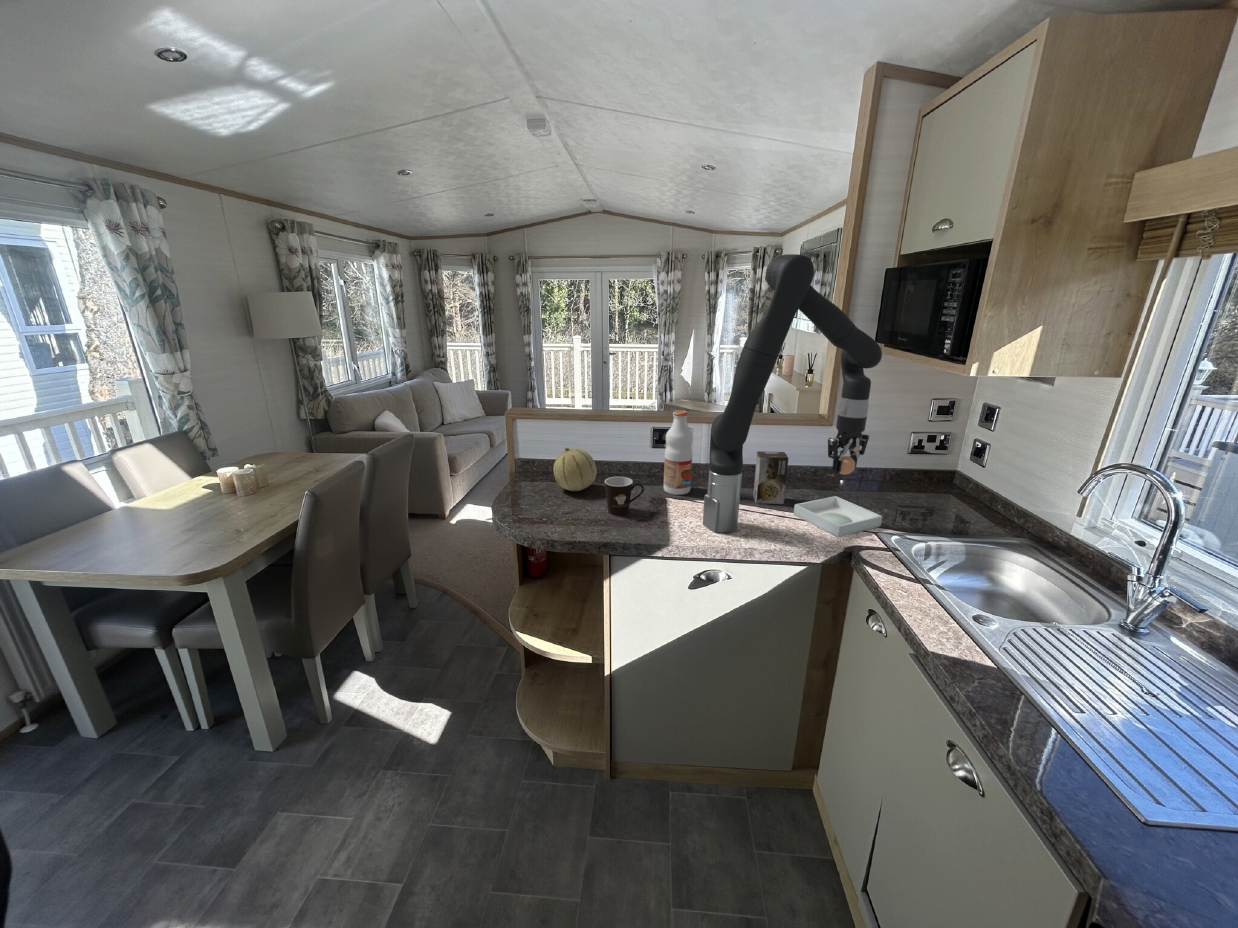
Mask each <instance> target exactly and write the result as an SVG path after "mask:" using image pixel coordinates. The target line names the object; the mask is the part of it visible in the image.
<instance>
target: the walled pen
mask: <svg viewBox="0 0 1238 928" xmlns="http://www.w3.org/2000/svg"><path fill="white" fill-rule="evenodd" d="M793 515H794V516H795V517H797V518H799V519H801V520H803V521H805V522H807V523H808V524H811V525H812V526H815V527H816V528H819V529H821V530H822V531H824V532H827V533H828V534H830V535H832V536H834V537H836V538H842V537H845V536H850V535H853V534H857V533H861V532H864V531H869V529H870V530H873V529H877V528H881V525H882V521H883V516H882V515H881V514H878V513H876V512H874V511H872V510H869V509H867V508H865V507H862V506H860V505H857V504H855V503H853V502H850V501H848V500H846V499H843V498H841V497H839V496H836V495H835V496H834V495H833V496H829V497H825V498H824V497H823V498H820V499H815V500H810V501H805V502H801V503H795V504H794V508H793Z"/></svg>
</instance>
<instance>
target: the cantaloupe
mask: <svg viewBox="0 0 1238 928" xmlns="http://www.w3.org/2000/svg"><path fill="white" fill-rule="evenodd" d="M552 468H553V475H554V479H555V481H556V483H557V484H558V485H559V487H561V488H562V489H564V490H566V491H570V492H580V491H582V490H585V489H587V488H588V487H590V486H592V484H593V482H594V481H595V479H596V477H597V470H598V469H597V465H596V462H595V460H594V458H593V457H592V455H591V454H590V453H589V452H587V451H585V450H583V449H581V448H572V449H571V448H568V447H566V448H564V451H563V452H562V453H560V454H559V455H558V456H557V457H556V459H555V461H554V463H553V467H552Z"/></svg>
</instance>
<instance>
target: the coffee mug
mask: <svg viewBox="0 0 1238 928" xmlns="http://www.w3.org/2000/svg"><path fill="white" fill-rule="evenodd" d="M604 486H605V487H604V488H605V497H606V504H607V513H609V514H610V515H612V516H625V515H627V514H628V513H629V510H630V504H631V503H632V502H633V501H635V500H636V499H638V498H639V497H641V495H643V493H644V491H645V489H644V485H643V484H641V483H635V484H633V479H632V478H630V477H626V476H612V477H608V478H606V479H605V480H604ZM637 486H638V487H641V491H640V493H639V494H638V495H635V496H634V497H632V499H631V496H632V491H633V489H634V488H635V487H637Z"/></svg>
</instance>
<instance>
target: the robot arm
mask: <svg viewBox="0 0 1238 928" xmlns="http://www.w3.org/2000/svg"><path fill="white" fill-rule="evenodd" d="M814 277H815V266H814V262H813V261H812V259H811V258H810V257H808V256H807V255H805V254H799V253H798V254H795V253H793V254H781V255H778V256H776V257H774V258H772V260H770V262H769V263H768V265H767V266H766V268H765V280H766V284H767V285H768V287H769V288H770V289H771V290H772V291H773V294H772V297H771V300H770V303H769V305H768V307H767V309H766V312H765V313H764V315H763V316H762V317H761V318H760V319H759V321H758V323H757V324H756V325H755V326H754V328H753V329H752V331H751V332H750V333H749V335H748V336H747V338H746V340H745V342H744V344H743V347H742V349H741V352H740V354H739V357H738V360H737V363H736V367H735V371H734V375H733V380H732V381H733V382H732V387H731V392H730V396H729V399H728V401H727V404H726V406H725V408H724V410H723V412H722V413H721V414H719V415H717V416H716V417H715V418H714V420H713V421H712V424H711V427H710V440H709V456H708V457H709V468H708V483H707V493H706V494H704V498H703V499H704V501H703V511H702V512H703V516H702V525H703V526H705V527H706V528H707V529H709V530H710V531H712V532H713V533H718V532H719V533H731V532H735V531H737V529H738V524H739V513H740V503H741V501H740V500H741V490H742V481H743V480H742V479H743V470H744V469H743V468H744V465H743V464H744V460H743V458H744V457H743V451H744V450H743V448H744V444H745V443H746V442H747V438H748V436H749V431H750V428H751V424H752V420H753V418H754V414H755V411H756V408H757V405H758V403H759V401H760V399H761V398H762V395H763V394H764V390H765V389H766V387H767V384H768V382H769V380H770V377H771V376H772V373H773V370H774V368H775V366H776V363H777V361H778V358H779V356H780V354H781V353H780V352H781V350H782V347H783V345H784V343H785V340H786V338H787V335H788V334H789V330H790V328H791V326H792V323H793V320H794V318H795V316H796V314H797V312H798V310H799V311H800V312H801V313H802V314H803V315H804V316H805V317H806V318H807V319H808V320H809V321H810V322H811V323H812V324H813V325H814V326H815V327H816V328H817V329H818V330H819V331H820V333H821V334H822V335H823V336H824V337H825V338H826V339H827V340H828V341H829V342H830V343H831V345H833V346H834V347H835V348H838V349H842V351H841V355H840V364H841V366H840V367H841V375H842V382H843V383H842V389H841V395H840V396H841V397H840V400H839V405H838V412H837V415H836V416H837V417H836V418H837V419H836V425H835V427H836V428H835V429H836V430H837V435H836V436H835V437H834V438H832V437H829V438H828V439H827V453H828V454H827V457H828V458H830V459H832V465H831V466H832V469H831V470H832V471H833V473H837V474H840V471H841V464H842V461H841V460H842V458H843V456H845V454H847V452H849V455H850V456H849V455H848V456H849V457H851V458H852V459H853V460H854V461H855V469H854V470H853V471H855V470H856V468H857V463H858V459H859V458H860V456H863V455H865V452H866V449H867V446H868V442H869V439H870V435H869V434H867V433H864V432H865V430H866V425H867V424H866V423H867V419H868V412H869V398H870V394H871V386H872V380H871V378H869V377H868V376H867V375H865V372H864V371H865V370H864V369H866V370H867V369H872V368H874V367H876V366H878V365H879V363H880V362H881V360H882V358H883V351H882V348H881V346H880V344H879V343H878V342H877V341H876V340H875V339H874V338H873V337H872V336H871V335H869V334H867V333H866V332H864V330H861V329H860V328H858V327H857V326H856V325H855V323H854V322H853V321H852V320H851V319H850V317H849V316H848V315H846V313H845V312H844V311H843V310H842V309H841V308H839V307H838V306H837V305H836V304H834V303H833V302H832V301H830V300H829V299H827V298H826V297H825V296H823V295H822V294H821V293H820V292H819V291H817V289H815V287H813V286H812V283H813V279H814Z"/></svg>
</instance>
